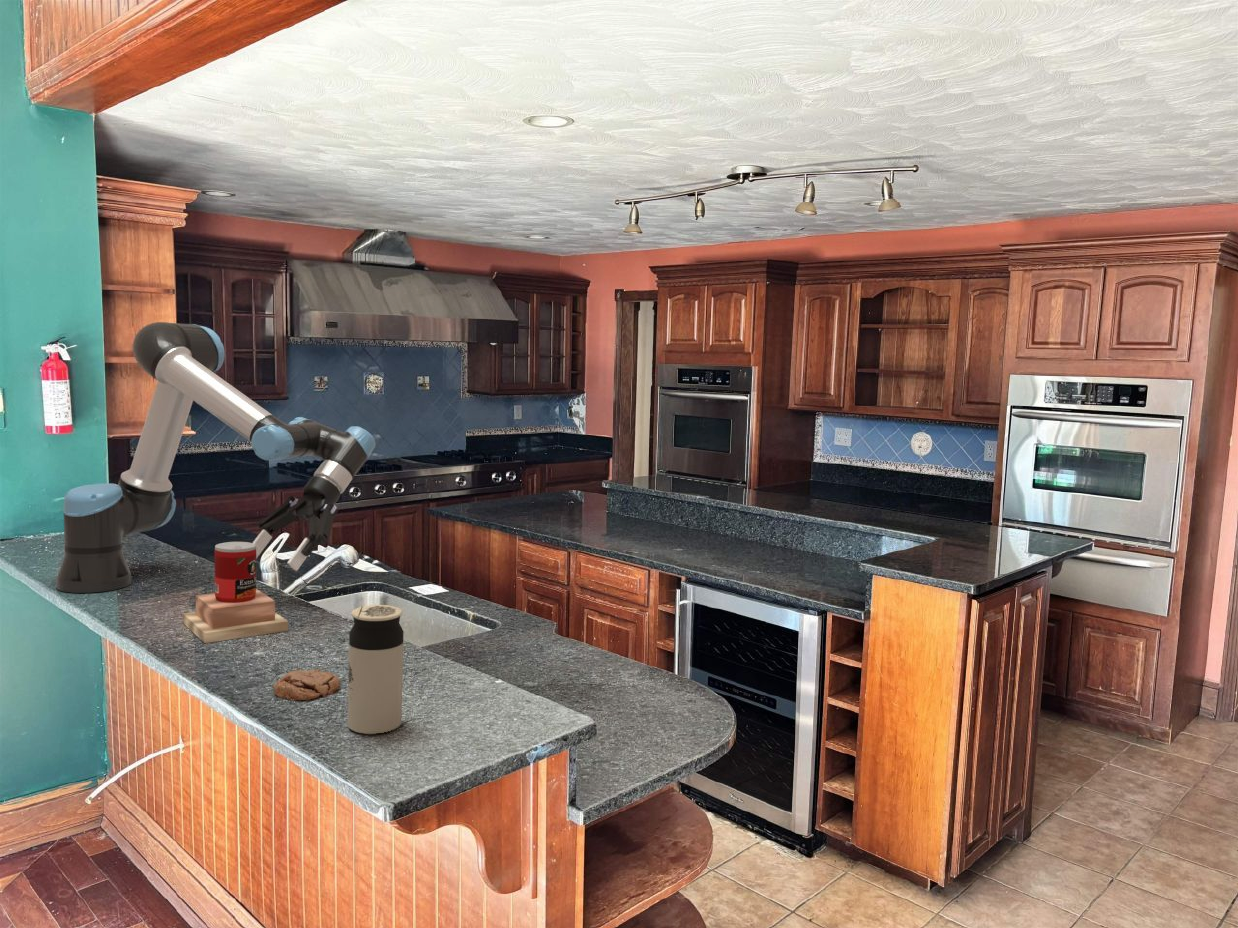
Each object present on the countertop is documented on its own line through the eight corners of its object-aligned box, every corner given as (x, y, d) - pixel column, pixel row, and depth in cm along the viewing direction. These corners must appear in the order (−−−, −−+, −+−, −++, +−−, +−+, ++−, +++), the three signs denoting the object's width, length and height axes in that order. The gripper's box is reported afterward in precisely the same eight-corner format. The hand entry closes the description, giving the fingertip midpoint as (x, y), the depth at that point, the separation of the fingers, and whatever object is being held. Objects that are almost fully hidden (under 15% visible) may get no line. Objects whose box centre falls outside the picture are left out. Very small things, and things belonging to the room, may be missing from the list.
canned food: (241, 604, 178) (241, 550, 177) (205, 600, 179) (205, 547, 178) (264, 595, 185) (264, 543, 184) (229, 591, 187) (229, 540, 186)
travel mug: (406, 716, 141) (408, 605, 139) (395, 736, 133) (397, 619, 131) (355, 714, 141) (357, 603, 139) (341, 734, 133) (343, 617, 131)
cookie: (350, 693, 151) (350, 676, 150) (288, 707, 143) (288, 689, 143) (323, 676, 158) (323, 660, 157) (263, 689, 150) (263, 672, 150)
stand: (182, 622, 184) (182, 594, 183) (261, 612, 194) (262, 585, 194) (204, 643, 172) (204, 612, 171) (288, 630, 182) (288, 602, 181)
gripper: (375, 502, 196) (321, 581, 185) (298, 490, 209) (243, 563, 198) (357, 480, 191) (300, 560, 180) (280, 469, 204) (221, 543, 192)
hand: (270, 562), depth 189 cm, fingers open, 13 cm apart
